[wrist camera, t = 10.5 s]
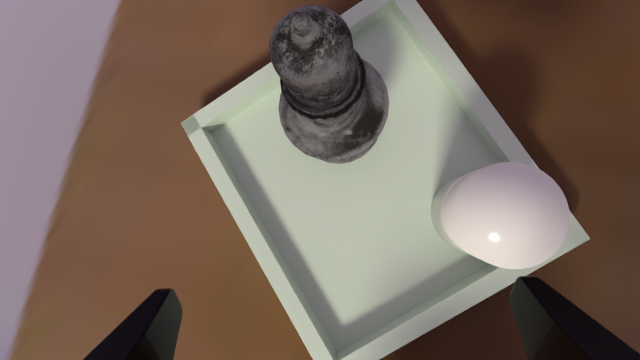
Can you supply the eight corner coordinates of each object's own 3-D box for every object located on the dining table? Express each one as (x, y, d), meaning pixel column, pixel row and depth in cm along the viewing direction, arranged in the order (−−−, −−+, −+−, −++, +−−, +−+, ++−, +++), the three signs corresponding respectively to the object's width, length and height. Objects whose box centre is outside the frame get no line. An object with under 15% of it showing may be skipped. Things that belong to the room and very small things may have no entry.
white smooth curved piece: (525, 225, 19) (593, 233, 14) (458, 265, 20) (495, 289, 14) (480, 161, 20) (526, 141, 14) (415, 200, 20) (434, 197, 15)
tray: (568, 235, 20) (590, 238, 18) (333, 371, 21) (329, 388, 19) (395, -4, 22) (398, -24, 20) (196, 130, 24) (180, 123, 22)
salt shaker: (292, 80, 22) (203, -66, 10) (384, 73, 21) (400, -95, 10) (293, 170, 22) (200, 124, 10) (387, 166, 21) (409, 111, 9)
